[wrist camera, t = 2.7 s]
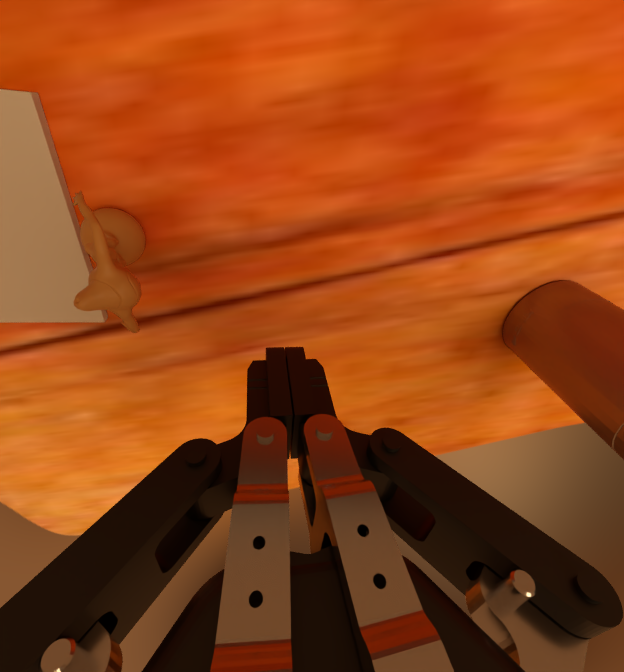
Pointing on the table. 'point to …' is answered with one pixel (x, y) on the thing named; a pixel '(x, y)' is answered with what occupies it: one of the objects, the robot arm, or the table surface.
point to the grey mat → (37, 222)
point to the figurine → (110, 261)
